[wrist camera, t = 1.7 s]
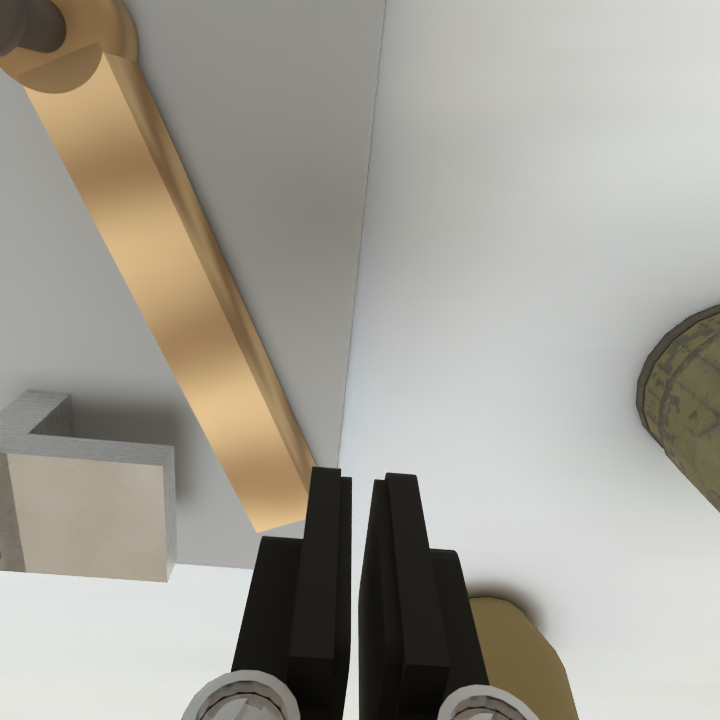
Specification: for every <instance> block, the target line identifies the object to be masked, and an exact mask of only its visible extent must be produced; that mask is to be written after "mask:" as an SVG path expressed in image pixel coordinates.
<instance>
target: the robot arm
mask: <svg viewBox="0 0 720 720" xmlns="http://www.w3.org/2000/svg"><path fill="white" fill-rule="evenodd" d="M351 538H352V477H341V469H339V468H327V467H315V466H312V472H311V480H310V488H309V496H308V504H307V512H306V520H305V528H304V536H303V539H299V538H286V537H273V536H262V538H261V542H260V545H259V550H258V554H257V559H256V563H255V567H254V572H253V576H252V581H251V585H250V589H249V594H248V598H247V603H246V607H245V611H244V616H243V620H242V625H241V629H240V633H239V638H238V642H237V647H236V651H235V655H234V660H233V664H232V669H231V672H230V673H226V674H223V675H221V676H220V677H218V678H216V679H214V680H212V681H210V682H209V683H207V684H206V685H205V686H204V687H203V688H202V689H201V690H200V691H199V692H198V693H197V694H196V695H195V696H194V697H193V699H192V700H191V702H190V704H189V705H188V707H187V709H186V710H185V712H184V714H183V717H182V719H181V720H342V718H343V711H344V704H345V696H346V689H347V682H348V674H349V663H350V647H351ZM358 635H359V720H539V719H538V717H537V716H536V715H535V714H534V713H533V712H532V711H531V710H530V709H529V708H528V707H527V705H526V704H525V703H524V702H522V701H521V700H519V699H518V698H516V697H515V696H513V695H512V694H510V693H509V692H506V691H504V690H501V689H498V688H496V687H493V686H490V684H489V680H488V676H487V671H486V667H485V663H484V659H483V655H482V651H481V647H480V643H479V639H478V634H477V630H476V626H475V622H474V618H473V614H472V610H471V606H470V601H469V597H468V593H467V589H466V585H465V581H464V577H463V573H462V569H461V564H460V560H459V557H458V554H457V553H456V551H455V550H443V549H430V548H429V543H428V537H427V531H426V526H425V520H424V515H423V509H422V503H421V498H420V492H419V487H418V481H417V477H416V475H412V474H400V473H386V476H385V480H377V479H375V481H374V486H373V493H372V500H371V508H370V515H369V522H368V530H367V537H366V545H365V552H364V559H363V567H362V574H361V581H360V589H359V602H358Z"/></svg>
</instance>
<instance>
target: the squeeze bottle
mask: <svg viewBox="0 0 720 720" xmlns="http://www.w3.org/2000/svg"><path fill="white" fill-rule="evenodd" d="M469 601H470V606H471V610H472V614H473V618H474V622H475V626H476V630H477V634H478V639H479V643H480V647H481V651H482V655H483V659H484V663H485V667H486V671H487V676H488V680H489V684H490V686H493V687H496V688H498V689H501V690H504V691H506V692H509V693H510V694H512V695H513V696H515V697H516V698H518V699H519V700H521V701H522V702H524V703H525V704H526V705H527V707H528V708H529V709H530V710H531V711H532V712H533V713H534V714H535V715H536V716H537V717H538V719H539V720H579V718H578V714H577V711H576V707H575V703H574V700H573V696H572V692H571V689H570V685H569V681H568V678H567V674H566V670H565V668H564V666H563V664H562V662H561V660H560V658H559V657H558V655H557V653H556V651H555V650H554V649H553V647H552V646H551V645H550V644H549V643H548V641H547V640H546V639H545V638H544V637H543V635H542V634H541V633H540V632H539V631H538V630H537V628H536V627H535V626H534V625H533V624H532V622H531V621H530V620H529V619H528V618H527V617H526V615H525V614H524V613H523V612H522V611H521V610H520V609H519V608H517V607H516V606H514V605H513V604H511V603H510V602H508V601H505V600H501V599H497V598H493V597H483V598H471V599H469Z"/></svg>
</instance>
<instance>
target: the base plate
mask: <svg viewBox="0 0 720 720" xmlns="http://www.w3.org/2000/svg"><path fill="white" fill-rule="evenodd" d="M121 1H122V2H123V4H124V5H125V7H126V9H127V10H128V12H129V14H130V16H131V18H132V21H133V23H134V26H135V30H136V34H137V40H138V55H137V61H136V62H137V64H138V66H139V69H140V71H141V73H142V75H143V78H144V80H145V82H146V84H147V87H148V89H149V91H150V93H151V96H152V98H153V100H154V102H155V105H156V107H157V109H158V111H159V114H160V116H161V118H162V120H163V123H164V125H165V127H166V129H167V132H168V134H169V136H170V138H171V141H172V143H173V145H174V147H175V150H176V152H177V154H178V156H179V159H180V161H181V163H182V165H183V168H184V170H185V172H186V174H187V177H188V179H189V181H190V183H191V186H192V188H193V190H194V192H195V195H196V197H197V199H198V201H199V204H200V206H201V208H202V210H203V213H204V215H205V217H206V219H207V222H208V224H209V226H210V228H211V231H212V233H213V235H214V237H215V240H216V242H217V244H218V246H219V249H220V251H221V253H222V255H223V258H224V260H225V262H226V264H227V267H228V269H229V271H230V273H231V276H232V278H233V280H234V282H235V285H236V287H237V289H238V291H239V294H240V296H241V298H242V300H243V303H244V305H245V307H246V309H247V312H248V314H249V316H250V318H251V321H252V323H253V325H254V327H255V330H256V332H257V334H258V336H259V339H260V341H261V343H262V345H263V348H264V350H265V352H266V354H267V357H268V359H269V361H270V363H271V366H272V368H273V370H274V372H275V375H276V377H277V379H278V381H279V384H280V386H281V388H282V390H283V393H284V395H285V397H286V399H287V402H288V404H289V406H290V408H291V411H292V413H293V415H294V417H295V420H296V422H297V424H298V426H299V429H300V431H301V433H302V435H303V438H304V440H305V442H306V444H307V447H308V449H309V451H310V453H311V456H312V458H313V460H314V462H315V465H316V467H327V468H337V465H338V455H339V446H340V436H341V426H342V417H343V407H344V398H345V388H346V378H347V369H348V359H349V349H350V340H351V330H352V321H353V311H354V301H355V292H356V282H357V273H358V263H359V253H360V244H361V234H362V224H363V215H364V205H365V196H366V186H367V176H368V167H369V157H370V148H371V138H372V128H373V119H374V109H375V99H376V90H377V80H378V71H379V61H380V51H381V42H382V32H383V22H384V13H385V3H386V0H121ZM28 389H29V390H41V391H52V392H64V393H71V399H72V408H73V418H74V427H75V436H76V438H85V439H97V440H109V441H121V442H133V443H145V444H157V445H169V446H174V456H175V490H176V525H177V560H176V564H190V565H204V566H217V567H231V568H245V569H254V567H255V563H256V559H257V554H258V550H259V545H260V542H261V538H262V536H273V537H286V538H299V539H303V536H304V528H305V520H306V519H304V520H301V521H297V522H294V523H290V524H287V525H283V526H280V527H277V528H273V529H270V530H266V531H263V532H259V533H256V531H255V529H254V527H253V525H252V523H251V521H250V519H249V517H248V515H247V513H246V512H245V510H244V508H243V506H242V504H241V502H240V500H239V498H238V496H237V494H236V492H235V491H234V489H233V487H232V485H231V483H230V481H229V479H228V477H227V475H226V473H225V471H224V469H223V468H222V466H221V464H220V462H219V460H218V458H217V456H216V454H215V452H214V450H213V448H212V447H211V445H210V443H209V441H208V439H207V437H206V435H205V433H204V431H203V429H202V427H201V425H200V424H199V422H198V420H197V418H196V416H195V414H194V412H193V410H192V408H191V406H190V404H189V403H188V401H187V399H186V397H185V395H184V393H183V391H182V389H181V387H180V385H179V383H178V381H177V380H176V378H175V376H174V374H173V372H172V370H171V368H170V366H169V364H168V362H167V360H166V359H165V357H164V355H163V353H162V351H161V349H160V347H159V345H158V343H157V341H156V339H155V337H154V336H153V334H152V332H151V330H150V328H149V326H148V324H147V322H146V320H145V318H144V316H143V315H142V313H141V311H140V309H139V307H138V305H137V303H136V301H135V299H134V297H133V295H132V293H131V292H130V290H129V288H128V286H127V284H126V282H125V280H124V278H123V276H122V274H121V272H120V271H119V269H118V267H117V265H116V263H115V261H114V259H113V257H112V255H111V253H110V251H109V249H108V248H107V246H106V244H105V242H104V240H103V238H102V236H101V234H100V232H99V230H98V228H97V227H96V225H95V223H94V221H93V219H92V217H91V215H90V213H89V211H88V209H87V207H86V205H85V204H84V202H83V200H82V198H81V196H80V194H79V192H78V190H77V188H76V186H75V184H74V183H73V181H72V179H71V177H70V175H69V173H68V171H67V169H66V167H65V165H64V163H63V161H62V160H61V158H60V156H59V154H58V152H57V150H56V148H55V146H54V144H53V142H52V140H51V139H50V137H49V135H48V133H47V131H46V129H45V127H44V125H43V123H42V121H41V119H40V117H39V116H38V114H37V112H36V110H35V108H34V106H33V104H32V102H31V100H30V98H29V96H28V95H27V93H26V91H25V89H24V87H23V85H22V84H20V83H18V82H17V81H15V80H14V79H12V78H11V77H10V76H9V75H8V74H7V73H5V72H4V71H3V70H2V68H1V67H0V411H2V410H3V409H4V408H5V407H7V406H8V405H9V404H10V403H12V402H13V401H14V400H15V399H17V398H18V397H19V396H20V395H22V394H23V393H24V392H25V391H26V390H28Z"/></svg>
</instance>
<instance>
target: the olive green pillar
mask: <svg viewBox="0 0 720 720" xmlns="http://www.w3.org/2000/svg"><path fill="white" fill-rule="evenodd" d="M636 406H637V409H638V412H639V415H640V418H641V421H642V425H643V426H644V428H645V429H646V430H647V431H648V432H649V433H650V435H651V436H652V437H653V438H654V439H655V440H656V441H657V442H658V444H659V445H660V446H661V447H662V448H664V450H665V453H666V455H667V456H668V457H669V459H670V460H671V461H672V462H673V463H674V464H675V465H676V467H677V468H678V469H679V470H680V471H681V472H682V473H683V474H684V475H685V477H686V478H687V479H688V480H689V481H690V482H691V483H692V484H693V485H694V486H695V487H696V488H697V489H698V490H699V491H700V492H701V493H702V494H703V496H704V497H705V498H706V499H707V500H708V501H709V502H710V503H711V504H712V505H713V506H714V507H715V508H716V509H717V510H718V511H719V512H720V305H716V306H714V307H712V308H709V309H707V310H704V311H702V312H700V313H697V314H695V315H692V316H690V317H689V318H687V319H686V320H685V321H683V322H682V323H681V324H679V325H678V326H677V327H675V328H674V329H673V330H671V331H670V332H669V333H667V334H666V335H665V336H664V337H663V339H662V340H661V341H660V342H659V344H658V345H657V346H656V348H655V349H654V350H653V351H652V353H651V354H650V355H649V356H648V358H647V360H646V363H645V365H644V368H643V370H642V372H641V375H640V377H639V380H638V385H637V401H636Z"/></svg>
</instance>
